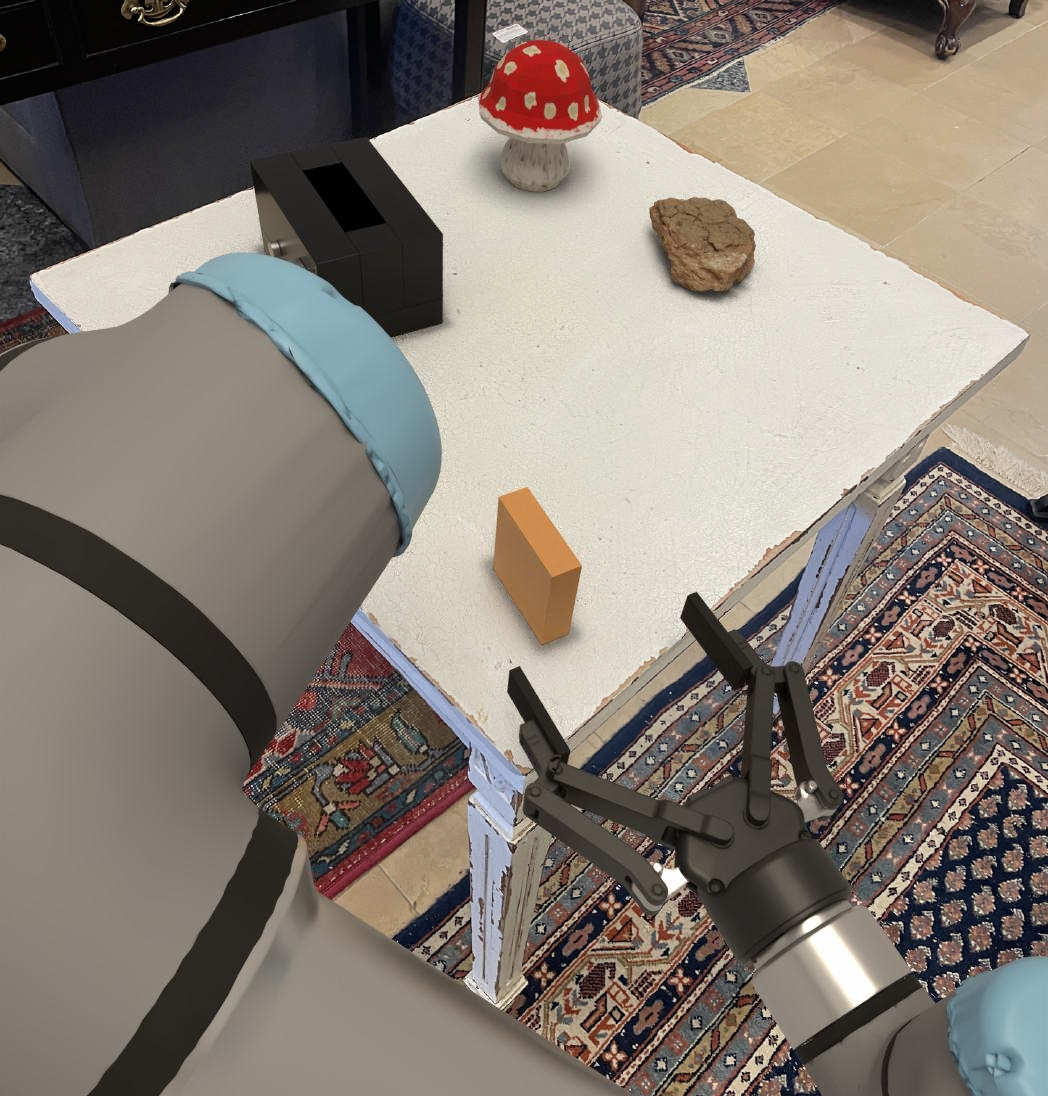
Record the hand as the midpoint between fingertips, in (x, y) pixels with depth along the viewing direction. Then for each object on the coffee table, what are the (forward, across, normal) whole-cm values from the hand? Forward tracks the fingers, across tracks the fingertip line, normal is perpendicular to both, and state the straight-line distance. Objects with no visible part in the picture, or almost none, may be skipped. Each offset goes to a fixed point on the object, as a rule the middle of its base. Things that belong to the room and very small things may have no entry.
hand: (603, 640), depth 64 cm
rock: (+40, +38, -7) cm, 56 cm away
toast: (+9, 0, -7) cm, 12 cm away
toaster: (+51, +2, -7) cm, 52 cm away
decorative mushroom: (+62, +29, -7) cm, 69 cm away
